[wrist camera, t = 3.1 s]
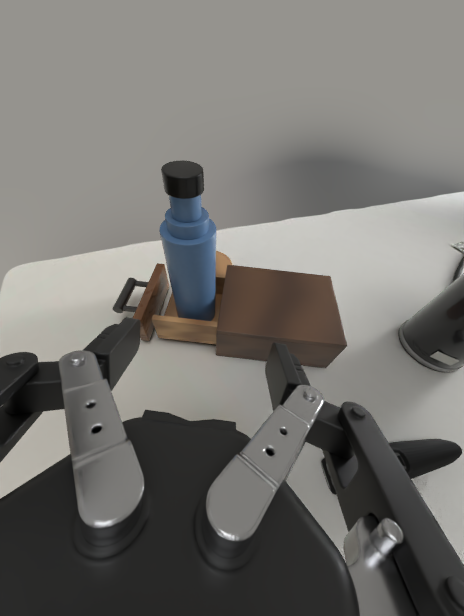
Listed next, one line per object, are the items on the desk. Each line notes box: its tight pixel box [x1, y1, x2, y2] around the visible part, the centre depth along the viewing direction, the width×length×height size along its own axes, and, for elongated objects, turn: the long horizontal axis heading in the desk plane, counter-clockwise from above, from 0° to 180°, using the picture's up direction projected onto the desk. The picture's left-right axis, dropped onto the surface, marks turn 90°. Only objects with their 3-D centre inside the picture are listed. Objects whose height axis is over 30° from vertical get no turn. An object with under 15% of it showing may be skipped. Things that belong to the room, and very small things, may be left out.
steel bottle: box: [160, 161, 216, 321], centre depth 28 cm, size 6×6×21 cm
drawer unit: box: [216, 265, 347, 368], centre depth 35 cm, size 16×12×7 cm
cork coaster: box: [216, 251, 232, 274], centre depth 46 cm, size 9×9×1 cm
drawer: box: [113, 263, 226, 344], centre depth 35 cm, size 20×11×5 cm, turn 84°
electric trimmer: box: [321, 439, 462, 494], centre depth 26 cm, size 4×16×3 cm, turn 99°
